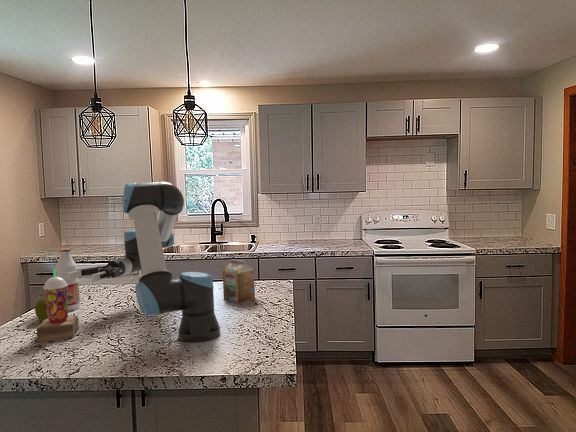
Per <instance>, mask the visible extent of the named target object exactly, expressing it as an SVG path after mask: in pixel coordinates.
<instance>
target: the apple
mask: <svg viewBox="0 0 576 432" xmlns="http://www.w3.org/2000/svg"><path fill="white" fill-rule="evenodd" d="M34 312H35V316H36V317H37V319H38V321H41V322H43V320H44V319H48V316H47V310H46V303H45V297H43V298H42V297H41V298H40V299H38V301H37V302H36V304H35V306H34Z"/></svg>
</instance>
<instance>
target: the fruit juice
mask: <svg viewBox="0 0 576 432" xmlns="http://www.w3.org/2000/svg"><path fill="white" fill-rule="evenodd" d="M71 252H72V249H71V248H70V247H68V248H67V247H63V248H59V249H58V253H59V257H58V261H57V262H56V265H55V268H54V269H55V272H56V276H57V277H61V278H63V279H64V280H65V281H66V283H67V284H68V312H69V311H74V310H77V309H79V308H81V296H80V284H79V283H80V281H79V277H78V278H74V279H70V280H67V273H70V272H75V271H77V270H78V265H77V262H76V261H75V260H74V259H73V257H72V254H71Z"/></svg>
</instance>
